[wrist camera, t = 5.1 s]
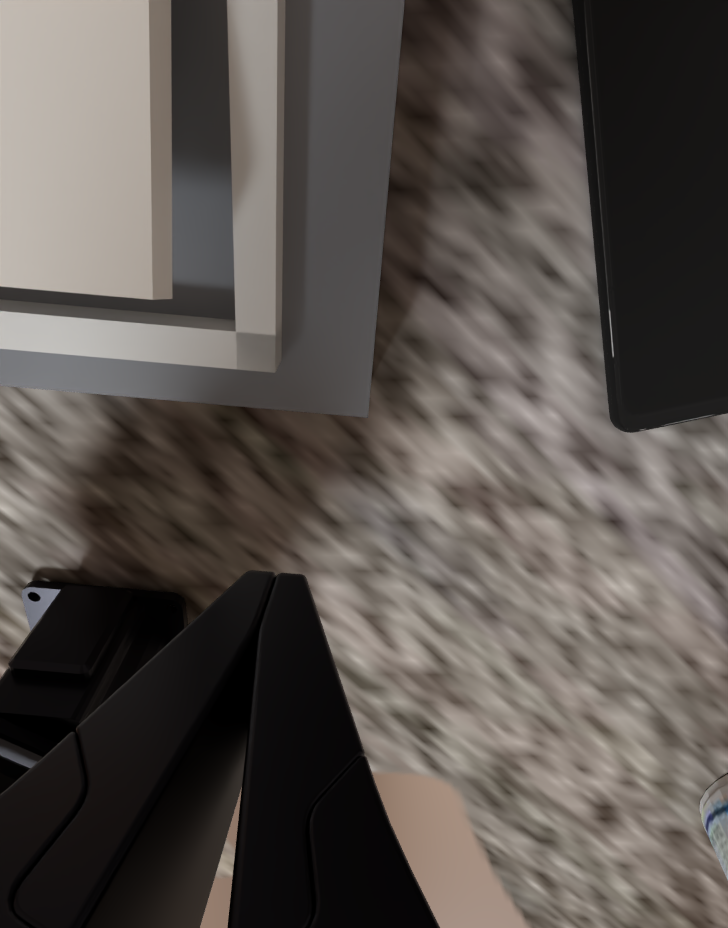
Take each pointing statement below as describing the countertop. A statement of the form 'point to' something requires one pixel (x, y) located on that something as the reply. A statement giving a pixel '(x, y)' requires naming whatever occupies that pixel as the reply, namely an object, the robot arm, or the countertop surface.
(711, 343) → the smartphone
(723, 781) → the spray can
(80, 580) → the countertop surface
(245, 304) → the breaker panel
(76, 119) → the rocker switch
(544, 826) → the countertop surface
